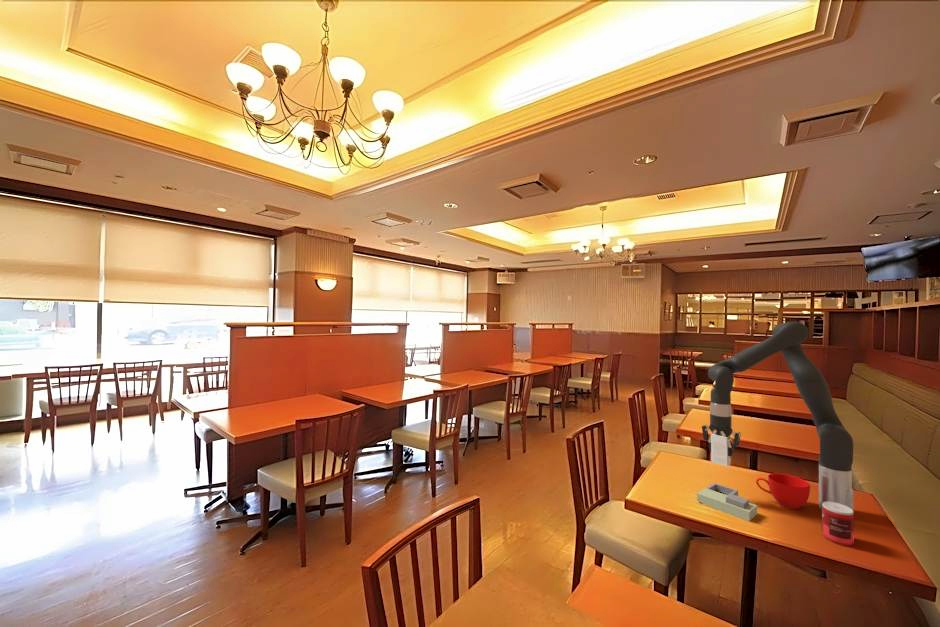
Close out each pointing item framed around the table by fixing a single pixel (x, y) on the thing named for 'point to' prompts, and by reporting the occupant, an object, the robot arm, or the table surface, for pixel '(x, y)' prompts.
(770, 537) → the table surface
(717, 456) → the skincare box
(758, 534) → the table surface
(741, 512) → the green base with arch
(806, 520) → the table surface
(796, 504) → the ceramic cup
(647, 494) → the table surface
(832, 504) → the canned food
